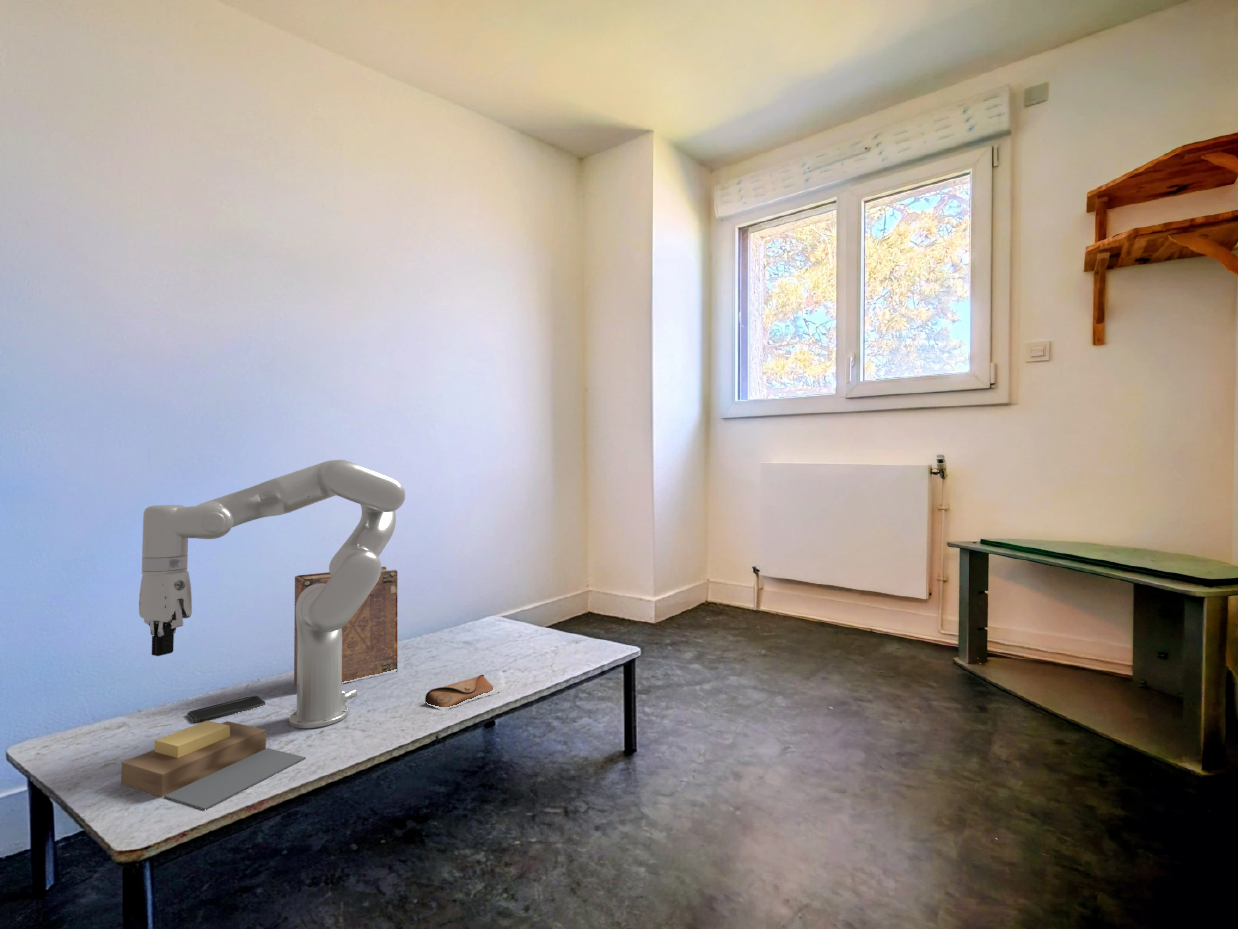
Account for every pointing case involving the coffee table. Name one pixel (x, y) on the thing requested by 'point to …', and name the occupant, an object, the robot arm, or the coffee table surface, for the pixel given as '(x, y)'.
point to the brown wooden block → (191, 761)
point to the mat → (234, 778)
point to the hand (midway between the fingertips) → (162, 653)
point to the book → (363, 628)
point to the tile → (192, 738)
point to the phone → (225, 709)
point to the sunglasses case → (458, 692)
